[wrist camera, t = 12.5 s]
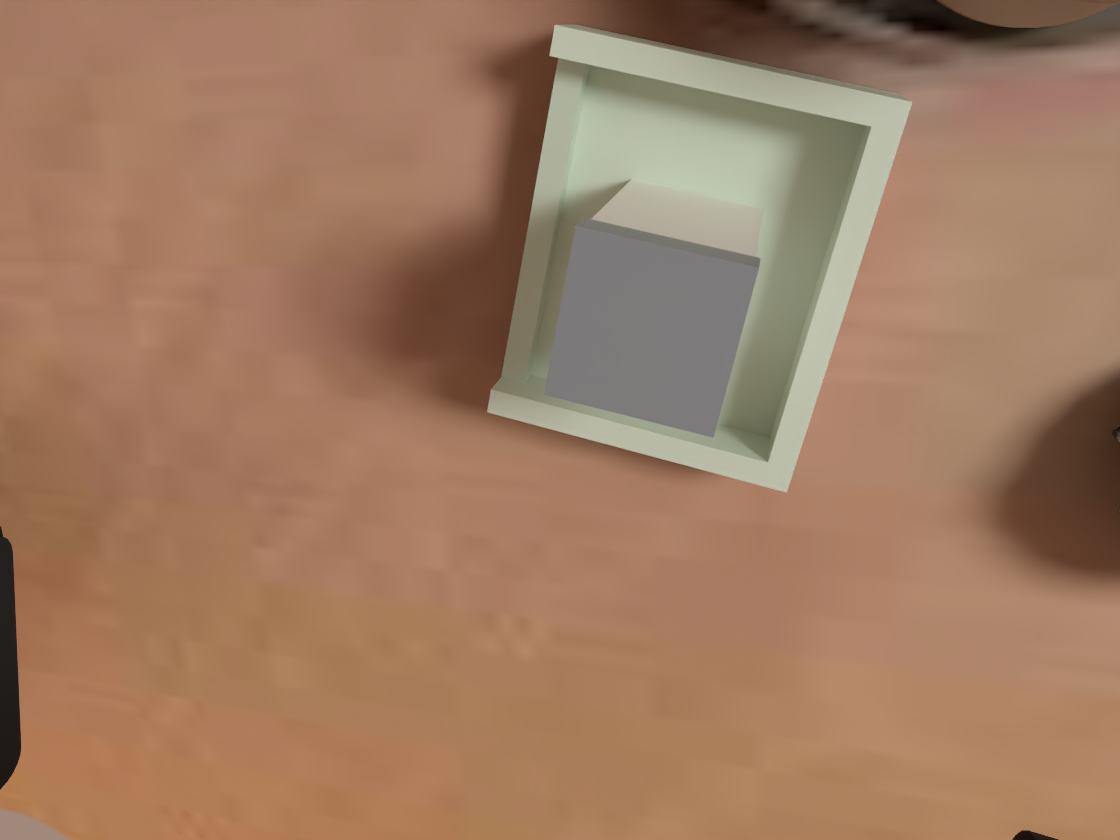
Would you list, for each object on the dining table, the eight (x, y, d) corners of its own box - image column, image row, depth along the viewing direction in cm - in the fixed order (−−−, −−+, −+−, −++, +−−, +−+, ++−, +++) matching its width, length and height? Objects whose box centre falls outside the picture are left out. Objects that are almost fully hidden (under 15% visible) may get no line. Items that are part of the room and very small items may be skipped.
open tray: (576, 24, 30) (554, 24, 27) (901, 94, 28) (912, 101, 26) (511, 381, 34) (487, 412, 31) (787, 453, 33) (786, 492, 30)
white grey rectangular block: (629, 175, 30) (575, 225, 22) (767, 206, 29) (758, 267, 22) (602, 307, 32) (543, 394, 24) (732, 338, 31) (713, 437, 24)
